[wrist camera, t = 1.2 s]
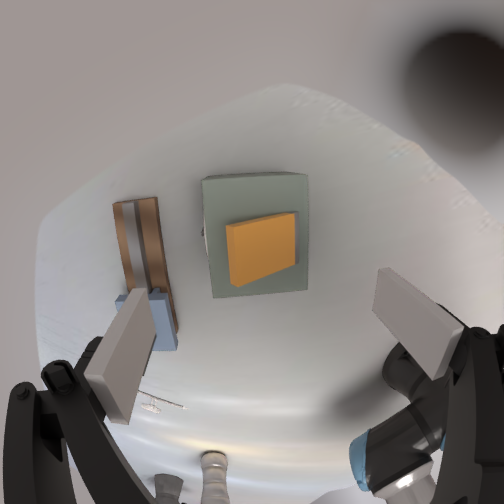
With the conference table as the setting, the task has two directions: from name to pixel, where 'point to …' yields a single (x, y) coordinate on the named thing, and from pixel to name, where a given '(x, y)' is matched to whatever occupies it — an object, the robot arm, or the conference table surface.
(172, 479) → the coffeepot
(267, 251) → the orange slab
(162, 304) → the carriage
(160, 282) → the rail
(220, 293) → the gauge cabinet
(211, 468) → the plastic bottle
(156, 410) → the picture light
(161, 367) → the conference table surface
